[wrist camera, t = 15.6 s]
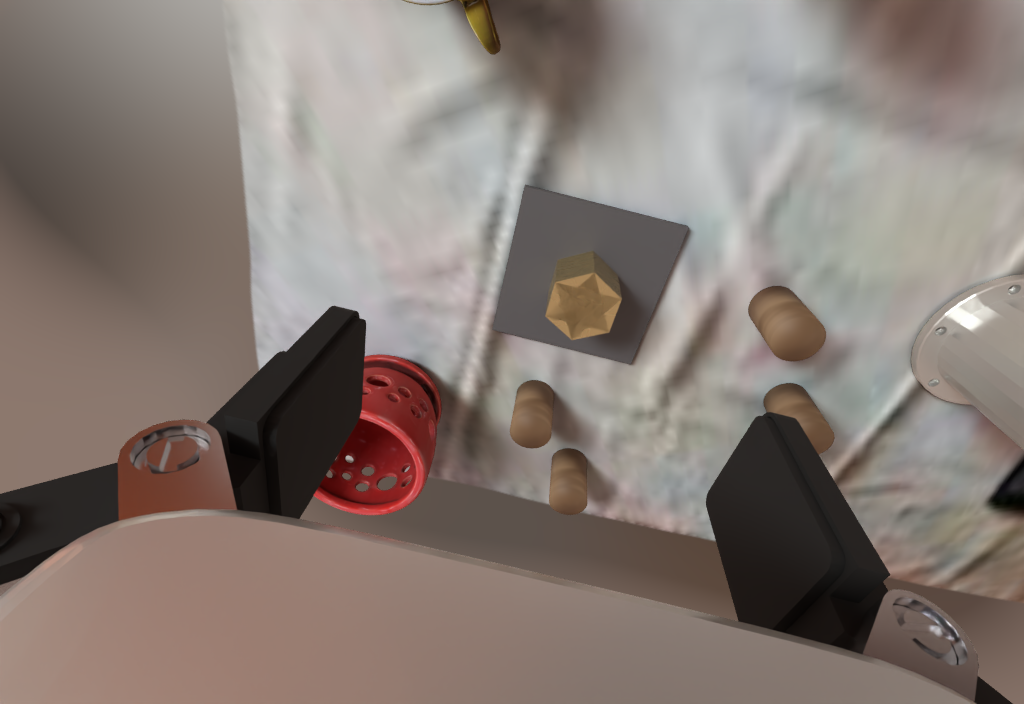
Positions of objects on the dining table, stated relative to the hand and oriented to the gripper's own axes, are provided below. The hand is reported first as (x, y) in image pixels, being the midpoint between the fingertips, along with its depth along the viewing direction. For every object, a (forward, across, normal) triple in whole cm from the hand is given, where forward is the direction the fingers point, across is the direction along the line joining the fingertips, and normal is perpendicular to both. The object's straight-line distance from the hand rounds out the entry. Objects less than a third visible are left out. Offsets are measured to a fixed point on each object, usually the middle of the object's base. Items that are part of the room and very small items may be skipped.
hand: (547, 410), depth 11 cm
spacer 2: (+32, -9, +32) cm, 46 cm away
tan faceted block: (+32, -4, +10) cm, 33 cm away
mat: (+32, -4, +10) cm, 34 cm away
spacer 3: (+32, -21, +8) cm, 39 cm away
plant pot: (+33, +12, +28) cm, 44 cm away
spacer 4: (+32, -27, +17) cm, 45 cm away
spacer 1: (+32, -3, +24) cm, 40 cm away
